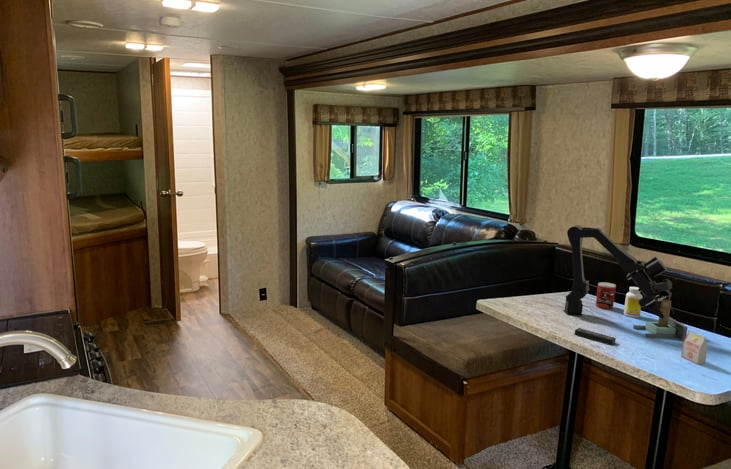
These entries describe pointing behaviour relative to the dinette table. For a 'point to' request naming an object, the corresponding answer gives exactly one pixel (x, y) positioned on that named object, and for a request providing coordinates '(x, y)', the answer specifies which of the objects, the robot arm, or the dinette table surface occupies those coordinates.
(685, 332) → the rail and backstop frame
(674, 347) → the dinette table surface
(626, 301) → the supplement bottle
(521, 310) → the dinette table surface
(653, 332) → the sliding socket block
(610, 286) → the canned food
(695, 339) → the gable top carton
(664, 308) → the walnut dowel
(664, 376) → the dinette table surface
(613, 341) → the multiport hub
